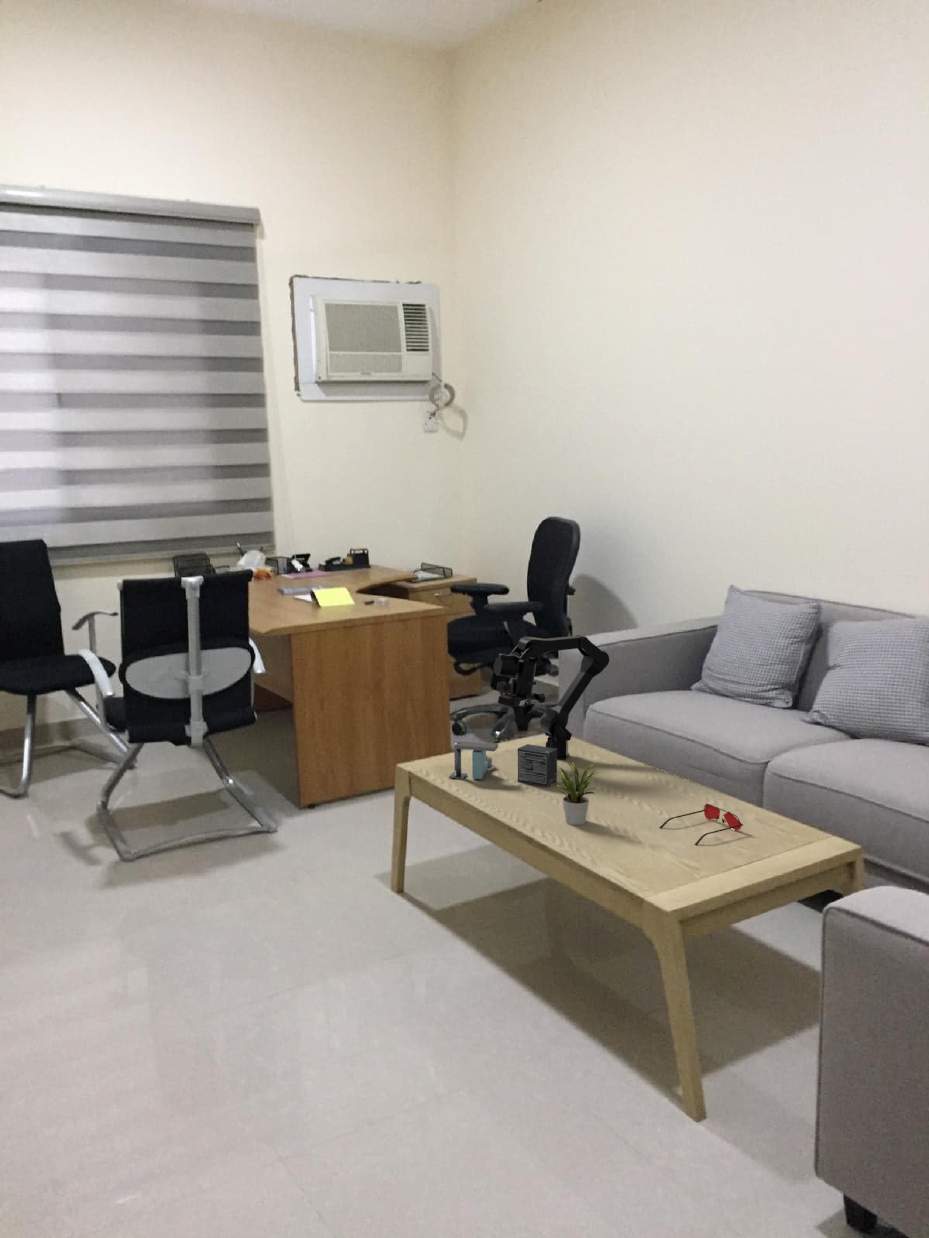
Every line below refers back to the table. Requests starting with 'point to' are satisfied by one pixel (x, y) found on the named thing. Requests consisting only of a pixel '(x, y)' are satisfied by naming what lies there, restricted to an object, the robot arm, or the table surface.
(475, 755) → the link
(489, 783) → the table surface
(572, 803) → the house plant
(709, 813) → the glasses
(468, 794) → the table surface
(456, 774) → the keeper
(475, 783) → the table surface
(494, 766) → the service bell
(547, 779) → the small box
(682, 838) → the table surface
